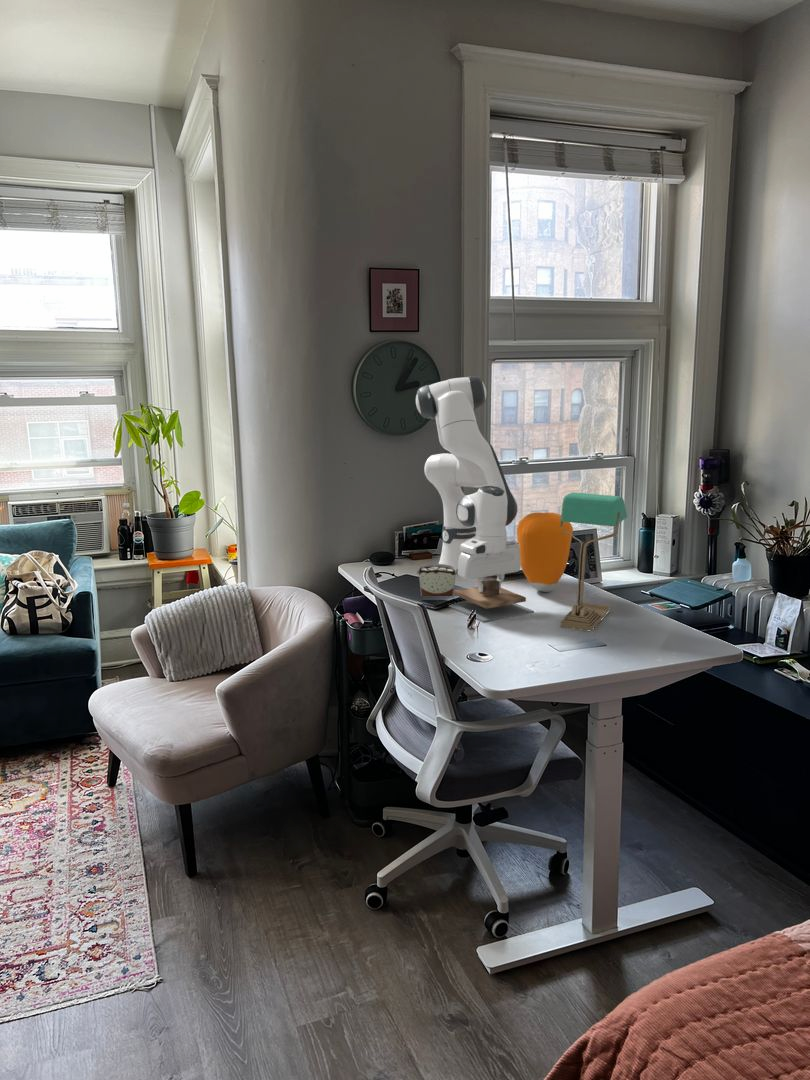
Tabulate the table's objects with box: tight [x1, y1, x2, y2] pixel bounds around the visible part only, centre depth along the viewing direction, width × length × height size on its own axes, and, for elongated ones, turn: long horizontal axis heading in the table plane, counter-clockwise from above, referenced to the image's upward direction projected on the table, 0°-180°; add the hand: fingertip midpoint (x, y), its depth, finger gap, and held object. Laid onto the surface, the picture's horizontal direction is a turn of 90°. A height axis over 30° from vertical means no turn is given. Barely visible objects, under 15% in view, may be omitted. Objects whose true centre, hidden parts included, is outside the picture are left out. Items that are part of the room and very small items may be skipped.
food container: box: [416, 563, 459, 597], centre depth 247 cm, size 12×6×10 cm, turn 84°
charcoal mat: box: [448, 600, 535, 623], centre depth 237 cm, size 18×18×1 cm
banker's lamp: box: [560, 492, 628, 632], centre depth 225 cm, size 16×21×35 cm
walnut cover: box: [453, 577, 527, 609], centre depth 236 cm, size 14×16×5 cm
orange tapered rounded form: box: [516, 512, 574, 593], centre depth 252 cm, size 17×17×25 cm
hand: (489, 590), depth 236 cm, fingers closed on walnut cover, 4 cm apart
